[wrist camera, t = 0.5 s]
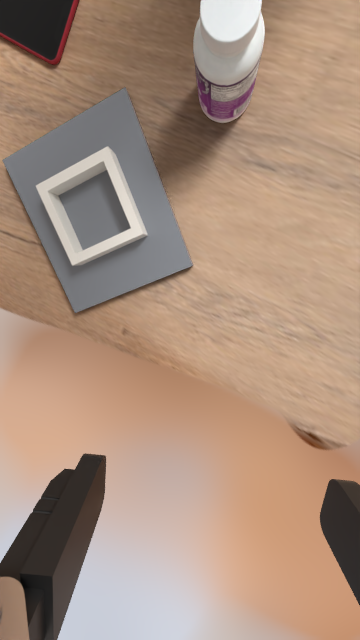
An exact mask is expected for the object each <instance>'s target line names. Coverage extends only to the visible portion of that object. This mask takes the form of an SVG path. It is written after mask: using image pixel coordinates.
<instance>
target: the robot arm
mask: <svg viewBox="0 0 360 640" xmlns="http://www.w3.org/2000/svg"><path fill="white" fill-rule="evenodd" d="M105 474H106V456H104V455H95V454H83V456H82V457H81V459H80V461H79V463H78V465H77V467H76V469H75V470H72V469H64V470H63V471H62V472H61V473H59V474H58V475H57V476H56V477H55V478H54V479H53V480H51V482H50V483H49V485H48V487H47V488H46V490H45V491H44V493H43V495H42V497H41V499H40V500H39V501H38V503H37V504H36V506H35V508H34V509H33V512H32V513H31V514H30V516H29V517H28V519H27V521H26V522H25V524H24V525H23V527H22V529H21V530H20V532H19V534H18V535H17V537H16V539H15V540H14V542H13V543H12V545H11V547H10V548H9V550H8V552H7V553H6V555H5V556H4V558H3V560H2V561H1V563H0V640H57V638H58V635H59V633H60V630H61V626H62V624H63V621H64V618H65V615H66V612H67V609H68V606H69V603H70V600H71V597H72V594H73V591H74V588H75V585H76V583H77V580H78V577H79V574H80V571H81V567H82V565H83V562H84V559H85V556H86V553H87V550H88V547H89V544H90V541H91V538H92V535H93V532H94V529H95V527H96V524H97V521H98V517H99V515H100V512H101V508H102V504H103V500H104V493H105ZM320 523H321V528H322V531H323V534H324V536H325V538H326V540H327V542H328V544H329V546H330V548H331V550H332V552H333V554H334V556H335V558H336V560H337V562H338V563H339V566H340V567H341V570H342V572H343V573H344V575H345V577H346V579H347V581H348V583H349V585H350V587H351V589H352V591H353V593H354V595H355V597H356V599H357V601H358V603H359V605H360V485H359V484H358V483H356V482H354V481H345V480H336V479H332V480H330V481H329V483H328V487H327V490H326V494H325V498H324V501H323V505H322V508H321V512H320Z"/></svg>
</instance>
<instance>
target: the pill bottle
mask: <svg viewBox="0 0 360 640" xmlns="http://www.w3.org/2000/svg"><path fill="white" fill-rule="evenodd" d="M261 3H262V0H201V3H200V18H199V20H198V22H197V25H196V28H195V33H194V40H193V53H194V61H195V69H196V79H197V88H198V96H199V102H200V105H201V108H202V110H203V112H204V113H205V114H206V115H207V117H209V118H210V119H211V120H213V121H216V122H219V123H226V122H230V121H232V120H234V119H237V118H238V117H239V116H240V115H241V114H242V113H243V112H244V111H245V110H246V108H247V106H248V104H249V102H250V100H251V96H252V93H253V89H254V84H255V80H256V75H257V71H258V66H259V62H260V58H261V54H262V50H263V44H264V35H265V28H264V20H263V17H262V13H261Z"/></svg>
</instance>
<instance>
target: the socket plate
mask: <svg viewBox="0 0 360 640" xmlns="http://www.w3.org/2000/svg"><path fill="white" fill-rule="evenodd" d="M3 162H4V164H5V167H6V169H7V171H8V173H9V175H10V177H11V179H12V181H13V183H14V186H15V188H16V190H17V192H18V194H19V196H20V198H21V200H22V202H23V204H24V207H25V209H26V211H27V213H28V215H29V217H30V219H31V221H32V223H33V226H34V228H35V230H36V232H37V234H38V236H39V238H40V240H41V242H42V244H43V247H44V249H45V251H46V253H47V255H48V257H49V259H50V261H51V263H52V266H53V268H54V270H55V272H56V274H57V276H58V278H59V280H60V282H61V284H62V287H63V289H64V291H65V293H66V295H67V297H68V299H69V301H70V303H71V306H72V308H73V310H74V312H75V313H77V312H79V311H82V310H84V309H87V308H89V307H92V306H94V305H97V304H99V303H102V302H104V301H107V300H109V299H111V298H114V297H116V296H119V295H121V294H124V293H126V292H129V291H131V290H134V289H136V288H139V287H141V286H144V285H146V284H149V283H151V282H154V281H156V280H159V279H161V278H163V277H166V276H168V275H171V274H173V273H176V272H178V271H181V270H183V269H186V268H188V267H191V266H193V263H192V260H191V258H190V255H189V253H188V250H187V247H186V245H185V242H184V239H183V237H182V234H181V231H180V229H179V226H178V223H177V221H176V218H175V215H174V213H173V210H172V207H171V205H170V202H169V200H168V197H167V194H166V192H165V189H164V186H163V184H162V181H161V178H160V176H159V173H158V170H157V168H156V165H155V162H154V160H153V157H152V154H151V152H150V149H149V147H148V144H147V141H146V139H145V136H144V133H143V131H142V128H141V125H140V123H139V120H138V117H137V115H136V112H135V109H134V107H133V104H132V101H131V99H130V96H129V94H128V92H127V90H126V88H123V89H121V90H119V91H118V92H116V93H114V94H113V95H111V96H109V97H108V98H106V99H104V100H103V101H101V102H99V103H98V104H96V105H94V106H93V107H91V108H89V109H88V110H86V111H84V112H83V113H81V114H79V115H77V116H76V117H74V118H72V119H71V120H69V121H67V122H66V123H64V124H62V125H61V126H59V127H57V128H56V129H54V130H52V131H51V132H49V133H47V134H46V135H44V136H42V137H40V138H39V139H37V140H35V141H34V142H32V143H30V144H29V145H27V146H25V147H24V148H22V149H20V150H19V151H17V152H15V153H14V154H12V155H10V156H9V157H7V158H5V159H4V160H3Z"/></svg>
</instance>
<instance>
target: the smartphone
mask: <svg viewBox="0 0 360 640" xmlns="http://www.w3.org/2000/svg"><path fill="white" fill-rule="evenodd" d="M78 2H79V0H0V36H1V37H3V38H5V39H7V40H9V41H10V42H12V43H14V44H16V45H17V46H19V47H21V48H23V49H25V50H26V51H28V52H30V53H32V54H34V55H35V56H37V57H39V58H41V59H42V60H44V61H46V62H48V63H50V64H52V65H56V64H58V63H59V61H60V59H61V56H62V53H63V50H64V47H65V44H66V40H67V37H68V34H69V31H70V28H71V24H72V21H73V18H74V15H75V12H76V8H77V5H78Z"/></svg>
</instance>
